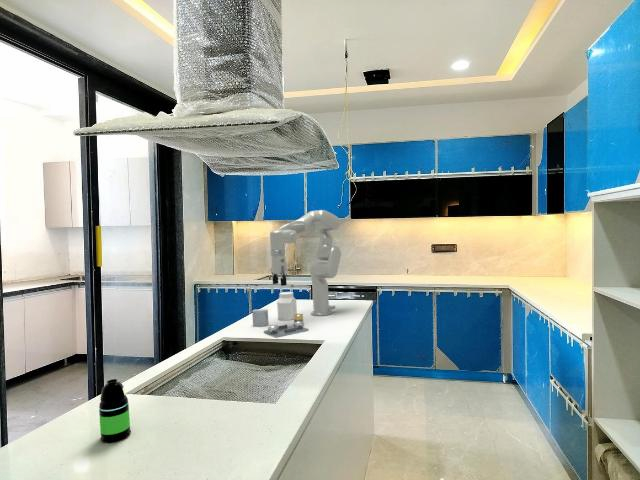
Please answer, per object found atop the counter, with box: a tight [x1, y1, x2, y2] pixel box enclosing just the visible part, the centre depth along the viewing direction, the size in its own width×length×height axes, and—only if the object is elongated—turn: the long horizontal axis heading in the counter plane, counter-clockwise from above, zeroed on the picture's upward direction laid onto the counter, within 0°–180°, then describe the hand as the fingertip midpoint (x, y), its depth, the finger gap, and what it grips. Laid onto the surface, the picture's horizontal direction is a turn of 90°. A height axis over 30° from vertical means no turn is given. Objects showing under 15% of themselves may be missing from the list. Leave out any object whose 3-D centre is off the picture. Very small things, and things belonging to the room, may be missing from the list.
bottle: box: [98, 378, 132, 444], centre depth 110 cm, size 7×7×15 cm
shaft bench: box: [263, 320, 309, 338], centre depth 214 cm, size 19×13×4 cm
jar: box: [276, 291, 298, 321], centre depth 247 cm, size 12×10×15 cm
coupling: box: [293, 313, 304, 323], centre depth 227 cm, size 5×5×6 cm
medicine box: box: [251, 308, 270, 327], centre depth 231 cm, size 8×4×9 cm, turn 84°
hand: (279, 284), depth 227 cm, fingers open, 9 cm apart
